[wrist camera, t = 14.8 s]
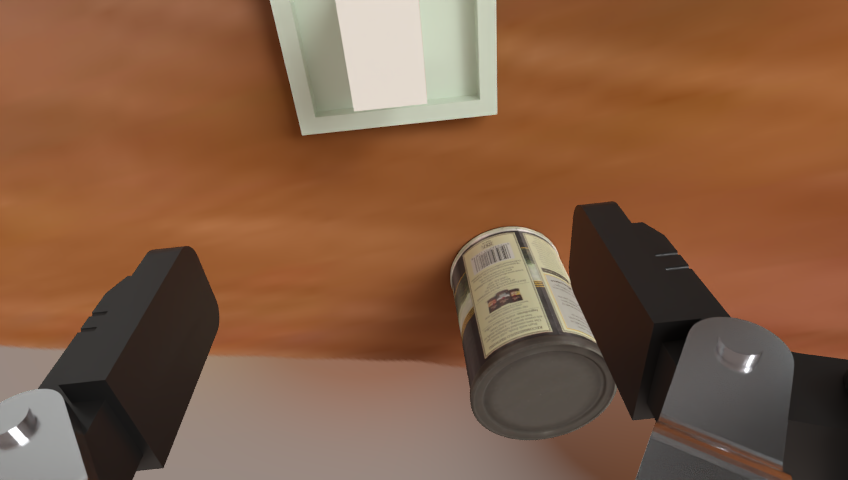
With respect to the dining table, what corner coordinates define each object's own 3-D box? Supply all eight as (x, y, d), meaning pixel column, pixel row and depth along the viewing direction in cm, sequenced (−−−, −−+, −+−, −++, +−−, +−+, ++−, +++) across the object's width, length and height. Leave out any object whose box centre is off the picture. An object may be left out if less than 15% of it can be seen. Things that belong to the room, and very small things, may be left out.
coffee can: (508, 329, 51) (544, 457, 39) (427, 283, 47) (440, 410, 36) (584, 261, 47) (649, 382, 35) (502, 204, 43) (545, 319, 31)
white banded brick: (410, -40, 32) (417, -21, 24) (419, 60, 35) (428, 104, 28) (345, -33, 32) (332, -12, 24) (360, 66, 35) (353, 112, 28)
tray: (489, -126, 30) (495, -127, 29) (492, 104, 38) (497, 114, 36) (253, -100, 30) (246, -100, 29) (305, 125, 38) (302, 135, 36)
